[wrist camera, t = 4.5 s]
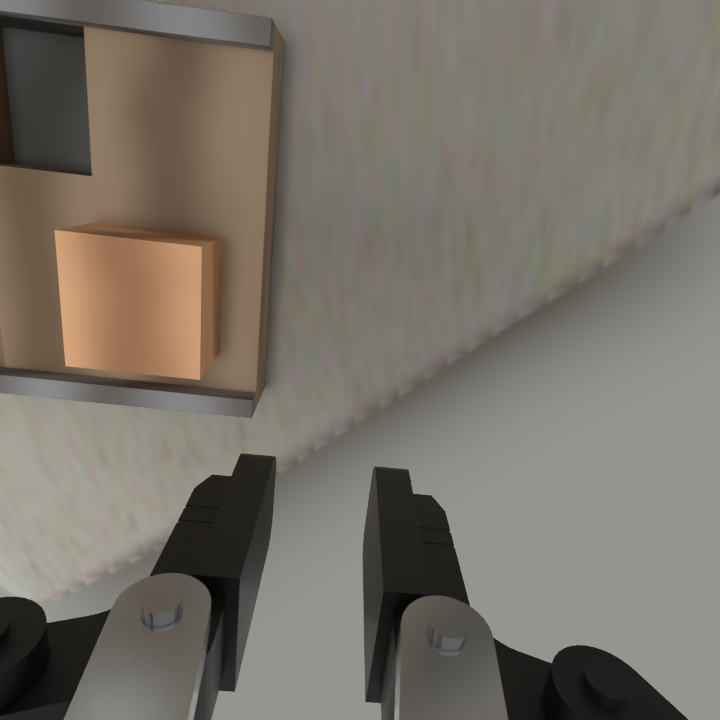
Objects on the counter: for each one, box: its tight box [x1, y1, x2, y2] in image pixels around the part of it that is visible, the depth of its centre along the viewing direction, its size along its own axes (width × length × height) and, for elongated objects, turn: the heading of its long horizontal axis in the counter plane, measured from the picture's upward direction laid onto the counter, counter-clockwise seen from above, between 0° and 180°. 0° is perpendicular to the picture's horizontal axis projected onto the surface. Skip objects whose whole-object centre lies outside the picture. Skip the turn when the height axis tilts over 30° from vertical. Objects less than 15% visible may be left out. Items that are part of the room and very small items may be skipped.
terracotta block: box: [54, 222, 222, 380], centre depth 24 cm, size 6×6×4 cm
